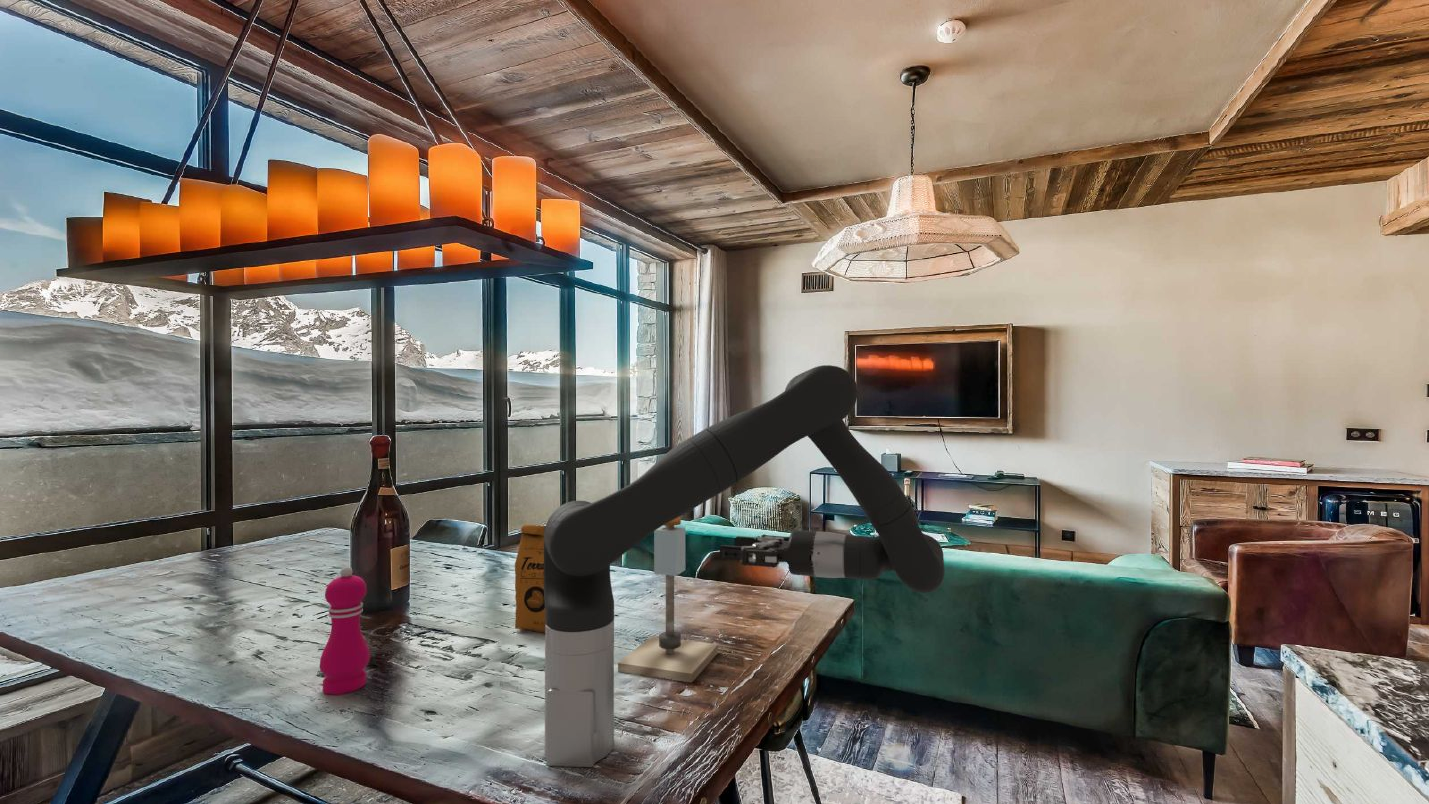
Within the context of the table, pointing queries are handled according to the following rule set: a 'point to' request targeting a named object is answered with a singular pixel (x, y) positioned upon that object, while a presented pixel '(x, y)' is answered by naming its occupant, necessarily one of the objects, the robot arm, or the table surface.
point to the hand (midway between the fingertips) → (727, 546)
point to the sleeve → (669, 551)
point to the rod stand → (669, 647)
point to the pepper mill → (345, 636)
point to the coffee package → (530, 579)
